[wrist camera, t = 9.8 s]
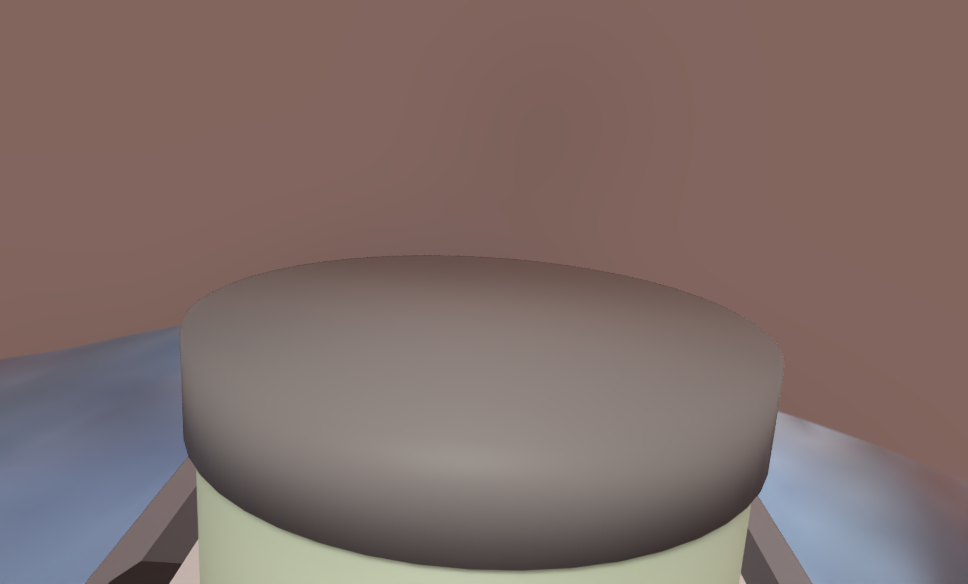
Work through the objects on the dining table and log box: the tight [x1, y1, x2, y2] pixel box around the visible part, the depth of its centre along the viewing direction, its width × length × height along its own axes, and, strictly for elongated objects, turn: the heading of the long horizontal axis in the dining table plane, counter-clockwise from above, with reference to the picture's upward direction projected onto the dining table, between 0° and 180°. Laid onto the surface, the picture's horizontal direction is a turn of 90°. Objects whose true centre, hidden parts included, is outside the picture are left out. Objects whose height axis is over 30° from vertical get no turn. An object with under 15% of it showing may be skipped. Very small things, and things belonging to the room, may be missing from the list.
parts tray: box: [85, 457, 812, 584], centre depth 24 cm, size 16×16×4 cm
